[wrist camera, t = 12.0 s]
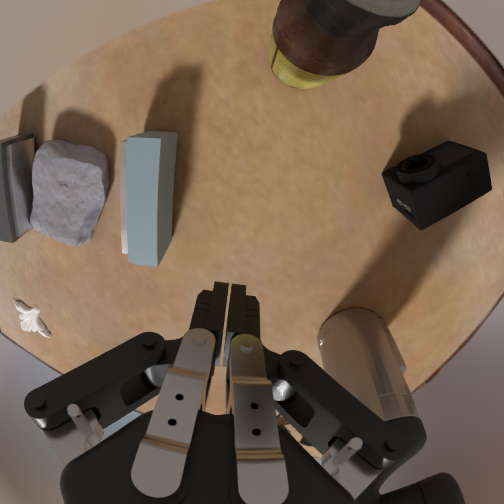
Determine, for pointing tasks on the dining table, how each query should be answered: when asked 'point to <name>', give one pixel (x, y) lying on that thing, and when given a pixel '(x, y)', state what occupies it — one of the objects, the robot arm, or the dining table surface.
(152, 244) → the block
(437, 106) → the dining table surface
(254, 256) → the dining table surface
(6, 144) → the block
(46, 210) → the stone block
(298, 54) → the sauce bottle
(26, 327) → the acanthus leaf ornament
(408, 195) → the digital camera
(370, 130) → the dining table surface
